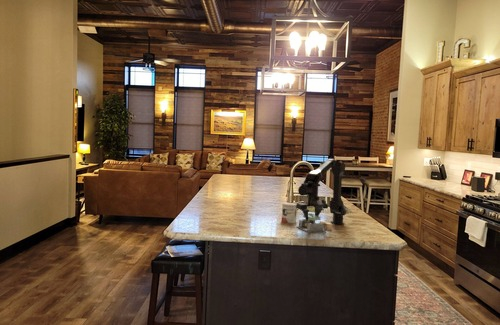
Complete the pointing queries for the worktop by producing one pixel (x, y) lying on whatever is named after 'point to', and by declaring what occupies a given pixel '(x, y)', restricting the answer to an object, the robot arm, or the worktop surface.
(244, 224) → the worktop surface
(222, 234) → the worktop surface
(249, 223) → the worktop surface
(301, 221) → the chassis
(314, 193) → the robot arm
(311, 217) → the board
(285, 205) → the ink box
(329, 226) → the block
